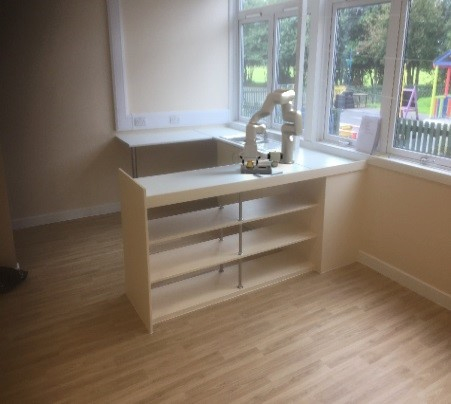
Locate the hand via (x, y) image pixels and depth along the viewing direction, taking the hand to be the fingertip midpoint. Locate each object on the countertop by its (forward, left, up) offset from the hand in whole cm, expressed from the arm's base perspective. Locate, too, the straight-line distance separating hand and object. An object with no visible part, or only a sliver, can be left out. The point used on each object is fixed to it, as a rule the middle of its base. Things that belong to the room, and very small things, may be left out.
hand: (249, 165), depth 310 cm
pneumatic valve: (-18, +20, -5) cm, 27 cm away
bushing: (0, 0, -5) cm, 5 cm away
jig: (0, +5, -5) cm, 6 cm away
